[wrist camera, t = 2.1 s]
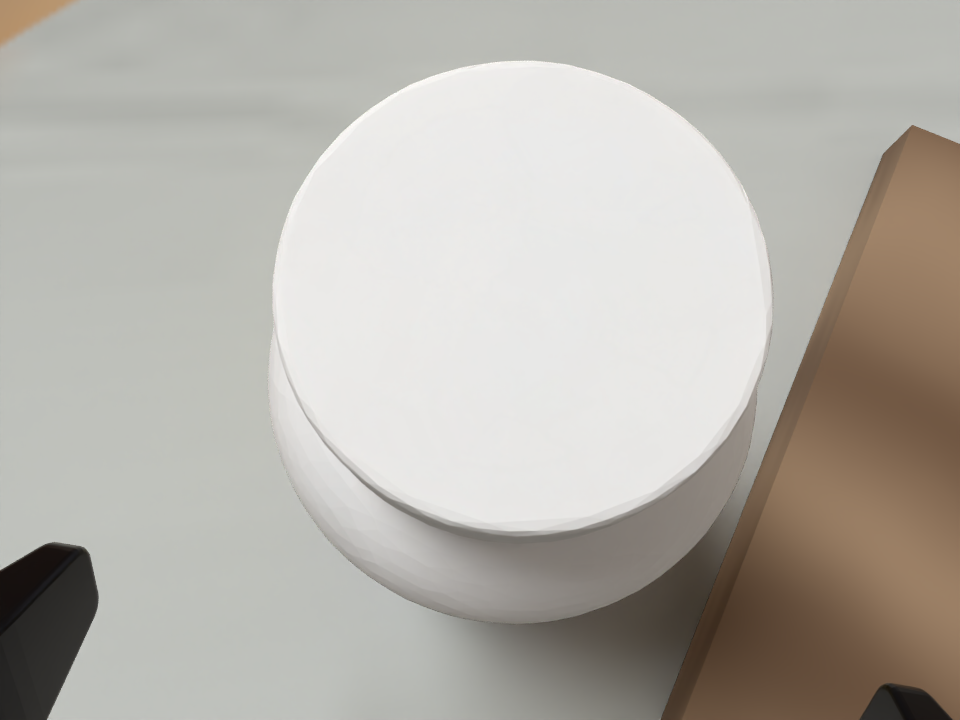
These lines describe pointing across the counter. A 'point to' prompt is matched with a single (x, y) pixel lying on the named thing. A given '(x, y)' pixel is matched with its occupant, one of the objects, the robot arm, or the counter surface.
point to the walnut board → (854, 483)
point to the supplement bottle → (518, 340)
